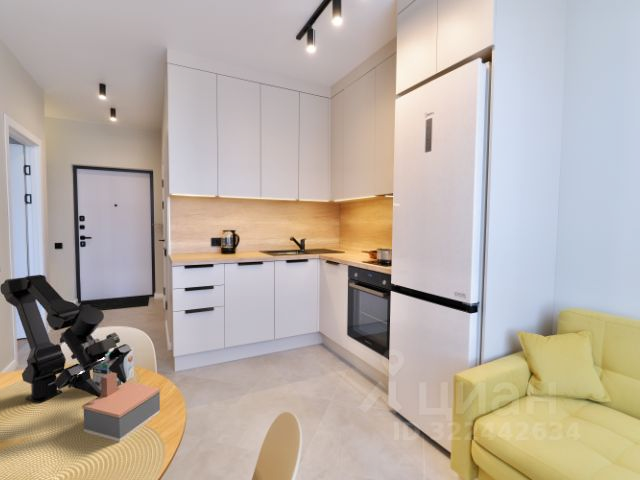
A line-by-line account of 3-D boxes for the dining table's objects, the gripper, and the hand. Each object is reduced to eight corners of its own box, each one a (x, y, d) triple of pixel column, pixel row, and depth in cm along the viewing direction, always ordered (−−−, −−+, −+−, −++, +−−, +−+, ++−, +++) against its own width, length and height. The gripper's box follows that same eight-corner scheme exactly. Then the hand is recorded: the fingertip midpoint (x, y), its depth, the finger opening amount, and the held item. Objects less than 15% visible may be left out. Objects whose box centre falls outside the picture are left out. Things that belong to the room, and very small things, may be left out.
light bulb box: (109, 392, 103) (108, 359, 103) (91, 390, 105) (91, 357, 104) (135, 377, 114) (134, 347, 113) (118, 374, 115) (118, 345, 114)
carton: (84, 431, 84) (83, 409, 84) (127, 404, 97) (126, 385, 96) (119, 441, 81) (119, 418, 80) (159, 412, 93) (159, 392, 93)
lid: (82, 408, 84) (81, 386, 83) (127, 383, 96) (126, 364, 96) (119, 418, 80) (118, 394, 80) (160, 391, 93) (160, 370, 92)
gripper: (61, 338, 81) (95, 389, 78) (126, 317, 99) (156, 358, 96) (40, 364, 84) (72, 414, 81) (107, 339, 101) (135, 379, 99)
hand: (113, 388), depth 89 cm, fingers open, 7 cm apart
